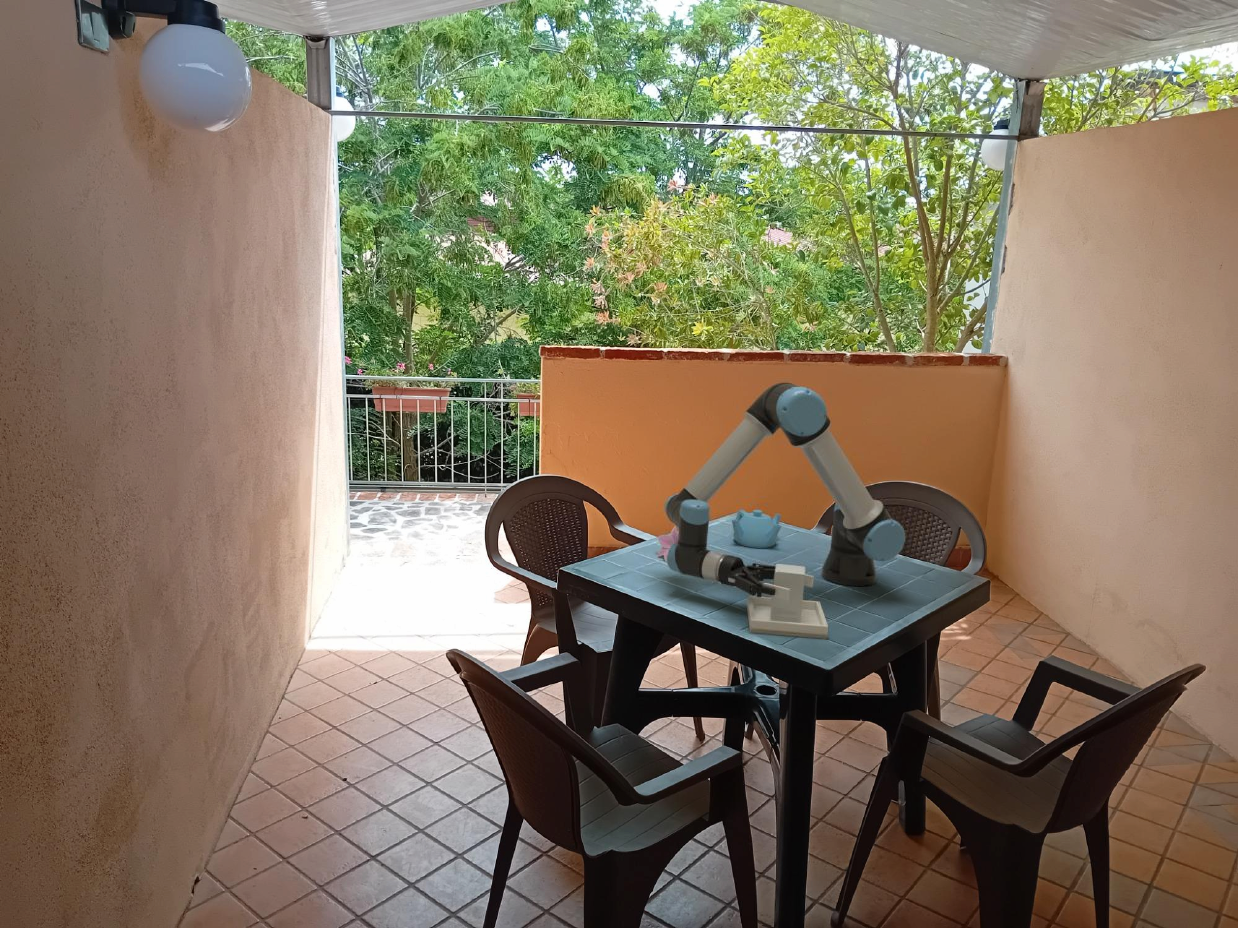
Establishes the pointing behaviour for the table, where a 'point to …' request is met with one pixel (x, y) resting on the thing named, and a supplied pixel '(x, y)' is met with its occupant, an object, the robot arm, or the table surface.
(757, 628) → the tray
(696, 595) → the table surface
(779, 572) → the supplement box
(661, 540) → the lily
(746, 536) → the teapot
